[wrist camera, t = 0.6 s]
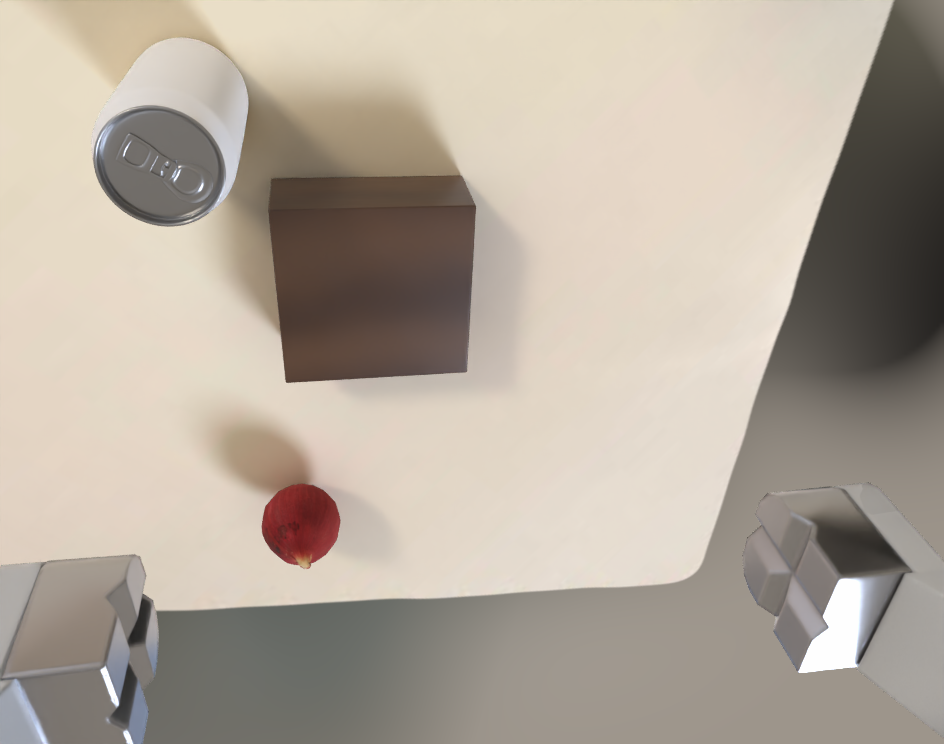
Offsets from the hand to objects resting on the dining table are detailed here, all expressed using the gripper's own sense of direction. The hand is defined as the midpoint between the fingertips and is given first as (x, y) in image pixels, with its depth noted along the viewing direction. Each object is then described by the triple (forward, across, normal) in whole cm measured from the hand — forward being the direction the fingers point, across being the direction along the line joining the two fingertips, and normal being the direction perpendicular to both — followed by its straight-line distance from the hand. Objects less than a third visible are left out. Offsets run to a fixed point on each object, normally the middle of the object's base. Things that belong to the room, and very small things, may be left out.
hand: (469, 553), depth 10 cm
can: (+41, +9, +5) cm, 43 cm away
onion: (+42, +5, +36) cm, 55 cm away
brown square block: (+41, -1, +16) cm, 44 cm away
